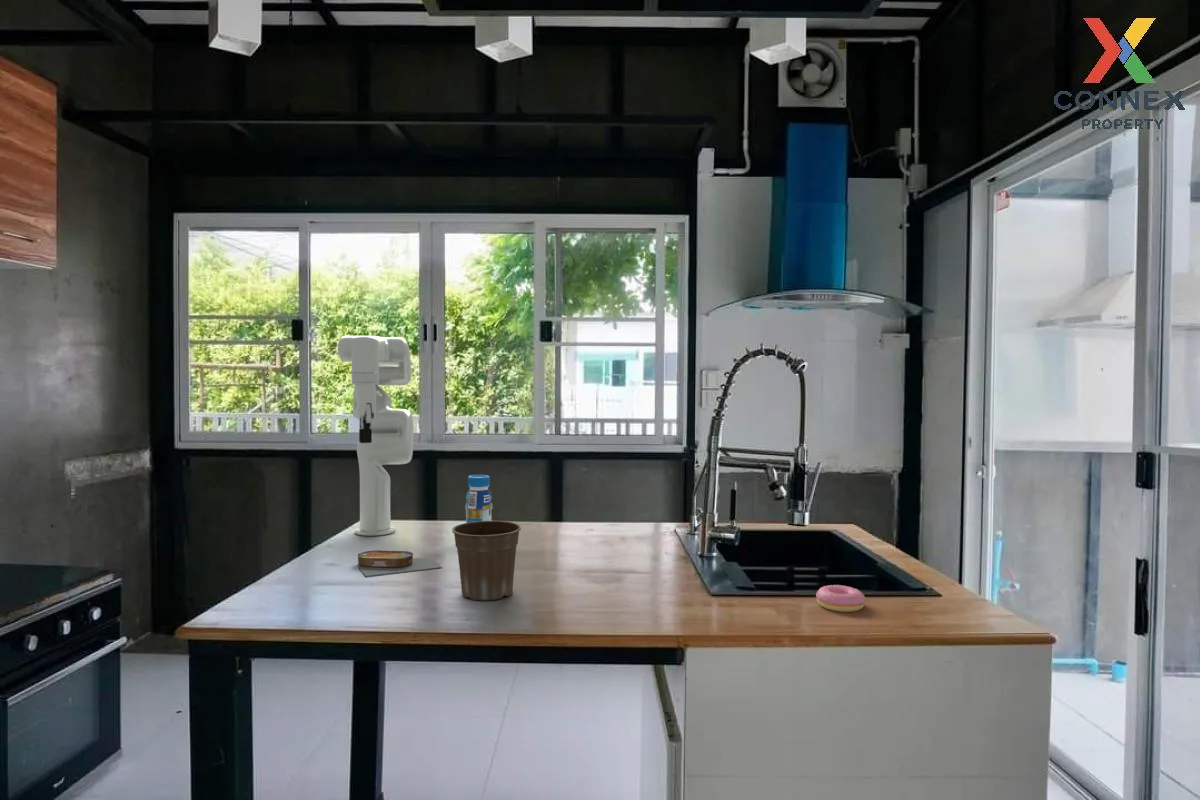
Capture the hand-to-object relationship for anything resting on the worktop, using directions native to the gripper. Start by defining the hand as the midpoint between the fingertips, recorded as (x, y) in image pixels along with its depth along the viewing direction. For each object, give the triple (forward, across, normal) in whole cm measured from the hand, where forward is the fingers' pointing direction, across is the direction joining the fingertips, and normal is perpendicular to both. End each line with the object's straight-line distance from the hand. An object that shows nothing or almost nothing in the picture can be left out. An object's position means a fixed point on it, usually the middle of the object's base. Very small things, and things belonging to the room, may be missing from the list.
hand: (365, 442), depth 217 cm
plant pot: (+32, +53, +18) cm, 65 cm away
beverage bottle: (+32, -2, +35) cm, 48 cm away
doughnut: (+32, +98, +88) cm, 136 cm away
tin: (+31, +13, +4) cm, 34 cm away
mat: (+32, +20, +5) cm, 38 cm away
